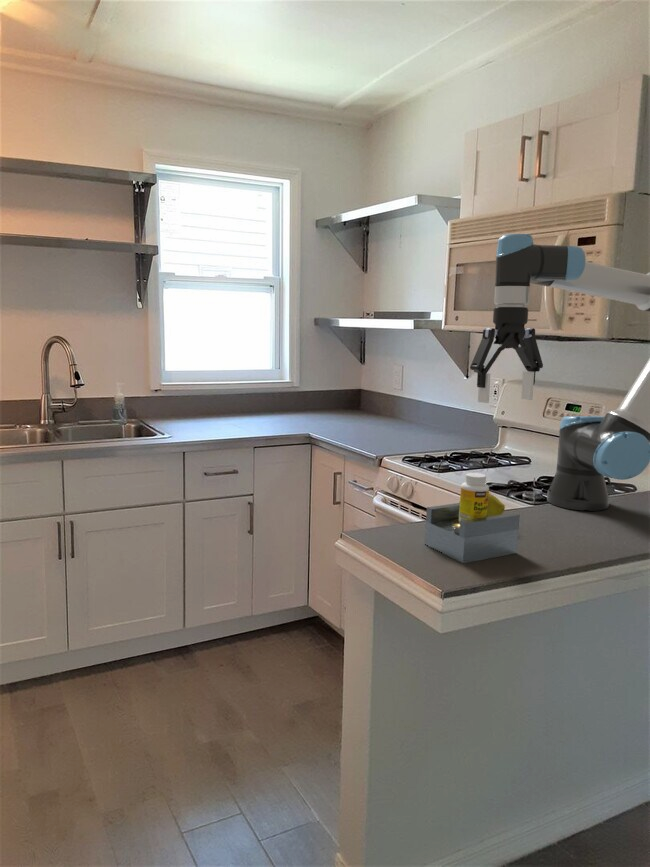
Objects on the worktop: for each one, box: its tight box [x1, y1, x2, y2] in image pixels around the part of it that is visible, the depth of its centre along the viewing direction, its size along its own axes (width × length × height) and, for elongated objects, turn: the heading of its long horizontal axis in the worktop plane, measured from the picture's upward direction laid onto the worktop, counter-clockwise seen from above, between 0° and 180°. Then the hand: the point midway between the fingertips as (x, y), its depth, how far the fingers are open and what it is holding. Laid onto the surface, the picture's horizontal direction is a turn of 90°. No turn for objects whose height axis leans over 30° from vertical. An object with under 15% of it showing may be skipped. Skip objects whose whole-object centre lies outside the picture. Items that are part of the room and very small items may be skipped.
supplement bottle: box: [459, 472, 490, 522], centre depth 137 cm, size 6×6×10 cm
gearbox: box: [424, 502, 521, 564], centre depth 138 cm, size 14×12×8 cm
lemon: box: [458, 493, 506, 517], centre depth 154 cm, size 11×8×8 cm
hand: (505, 400), depth 154 cm, fingers open, 13 cm apart
